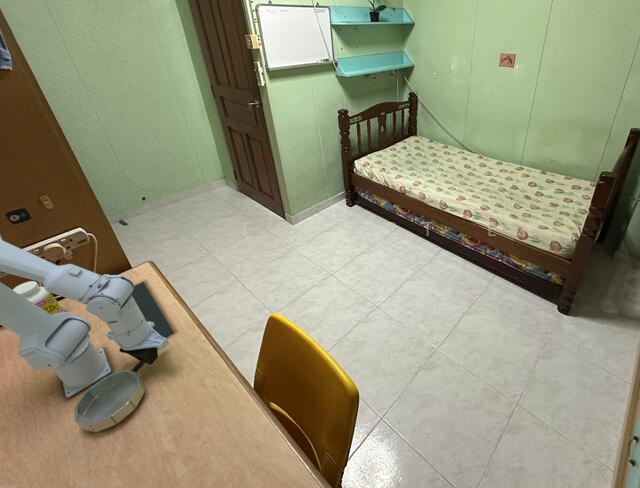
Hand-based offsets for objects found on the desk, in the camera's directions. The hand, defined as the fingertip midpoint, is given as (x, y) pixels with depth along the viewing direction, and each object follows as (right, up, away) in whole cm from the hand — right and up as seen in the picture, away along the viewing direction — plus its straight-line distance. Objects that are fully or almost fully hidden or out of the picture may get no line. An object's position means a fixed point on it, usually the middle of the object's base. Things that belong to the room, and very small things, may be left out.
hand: (150, 359), depth 77 cm
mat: (-14, +6, +14) cm, 21 cm away
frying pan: (-1, -4, -3) cm, 6 cm away
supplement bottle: (-38, +5, +12) cm, 41 cm away
